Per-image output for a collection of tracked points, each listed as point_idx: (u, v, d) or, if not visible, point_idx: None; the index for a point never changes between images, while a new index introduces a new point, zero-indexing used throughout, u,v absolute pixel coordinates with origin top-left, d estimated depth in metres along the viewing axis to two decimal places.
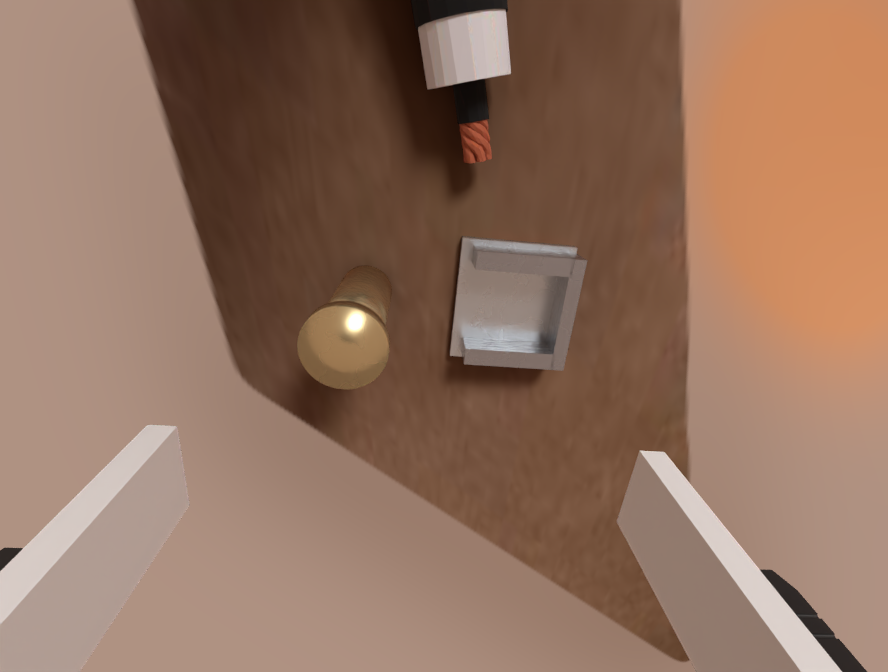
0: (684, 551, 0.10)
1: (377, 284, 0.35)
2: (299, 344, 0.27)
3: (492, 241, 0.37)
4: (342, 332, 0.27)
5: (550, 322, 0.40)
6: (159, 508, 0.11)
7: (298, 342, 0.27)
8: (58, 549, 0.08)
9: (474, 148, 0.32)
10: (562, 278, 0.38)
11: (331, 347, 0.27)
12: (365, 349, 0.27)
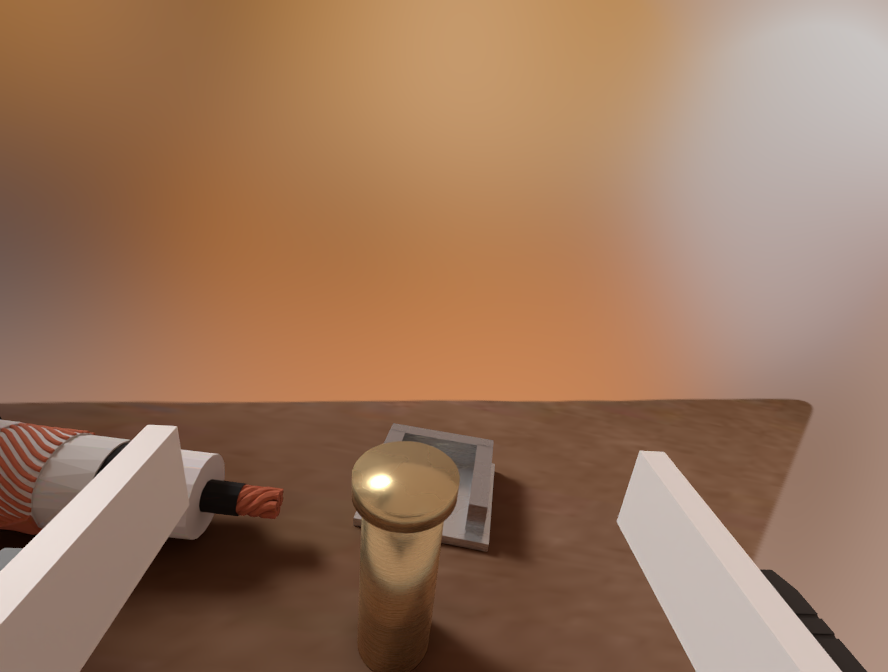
0: (684, 551, 0.10)
1: None
2: (390, 509, 0.21)
3: None
4: (385, 470, 0.23)
5: None
6: (159, 508, 0.11)
7: (387, 510, 0.21)
8: (58, 549, 0.08)
9: (263, 497, 0.32)
10: None
11: (401, 482, 0.22)
12: (410, 457, 0.24)
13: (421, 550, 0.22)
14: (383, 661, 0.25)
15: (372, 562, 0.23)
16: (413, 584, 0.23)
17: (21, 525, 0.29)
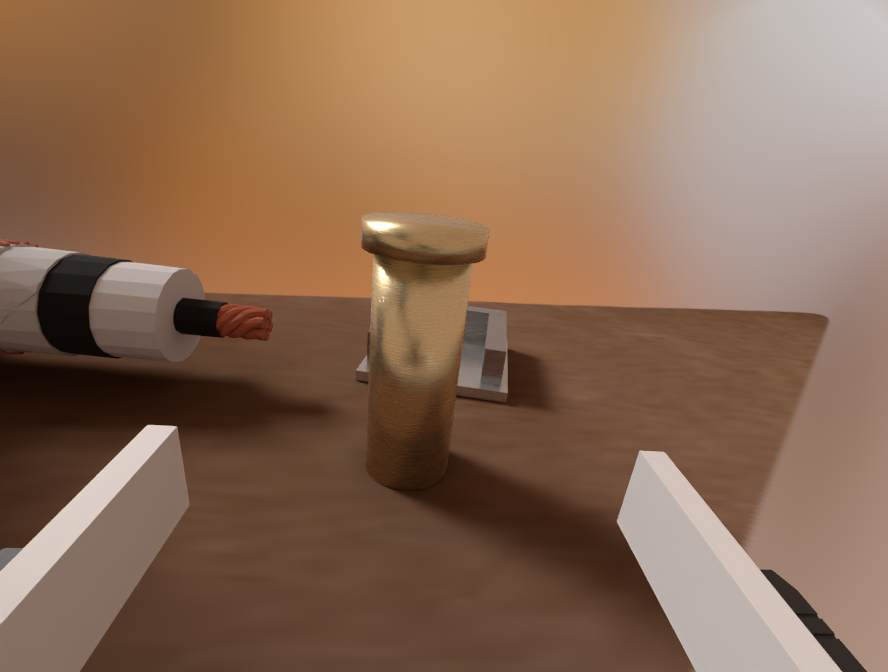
0: (684, 551, 0.10)
1: None
2: (410, 230, 0.17)
3: (367, 356, 0.34)
4: (400, 219, 0.19)
5: None
6: (159, 508, 0.11)
7: (407, 230, 0.17)
8: (58, 549, 0.08)
9: (248, 313, 0.28)
10: None
11: (421, 224, 0.19)
12: (428, 218, 0.21)
13: (445, 306, 0.19)
14: (397, 469, 0.22)
15: (386, 328, 0.19)
16: (435, 356, 0.20)
17: None
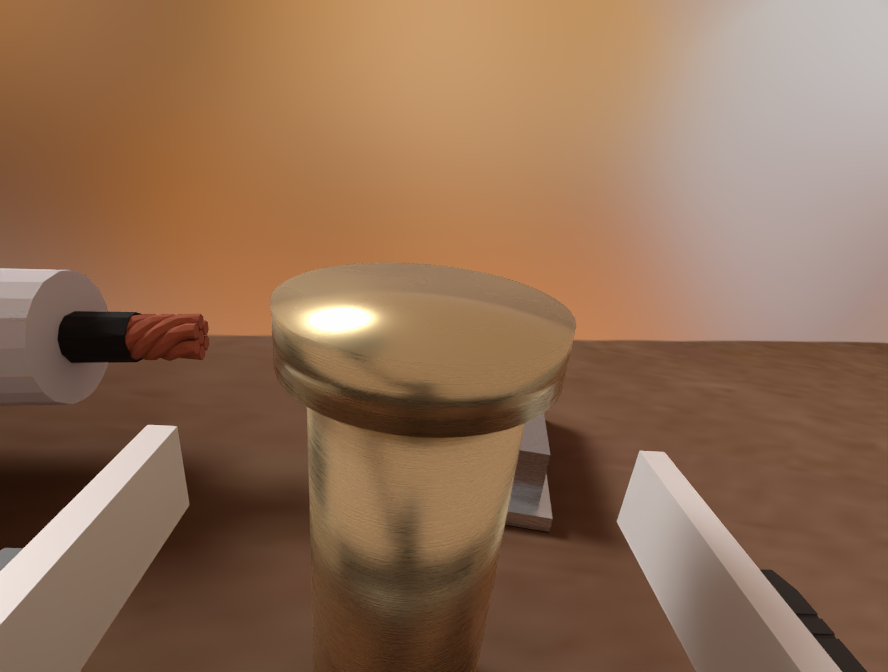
0: (683, 551, 0.10)
1: None
2: (383, 352, 0.06)
3: None
4: (367, 291, 0.08)
5: None
6: (159, 508, 0.11)
7: (373, 353, 0.06)
8: (58, 549, 0.08)
9: (174, 320, 0.20)
10: None
11: (414, 309, 0.08)
12: (431, 280, 0.10)
13: (473, 504, 0.08)
14: None
15: (335, 543, 0.08)
16: (447, 599, 0.09)
17: None
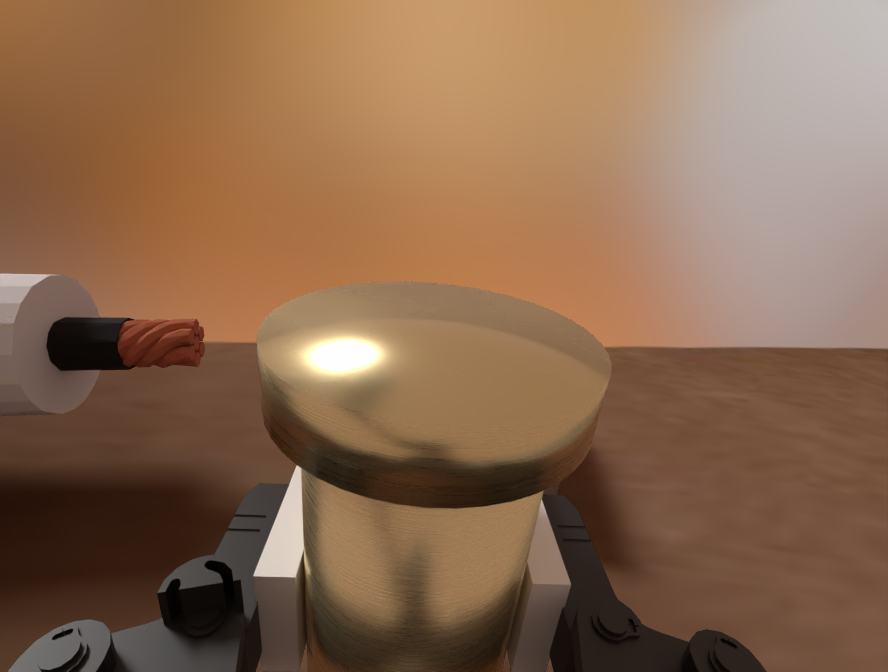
0: None
1: None
2: (390, 409, 0.05)
3: None
4: (370, 320, 0.07)
5: None
6: None
7: (378, 411, 0.05)
8: None
9: (168, 325, 0.19)
10: None
11: (424, 344, 0.07)
12: (441, 303, 0.09)
13: (492, 569, 0.07)
14: None
15: (333, 609, 0.07)
16: (460, 670, 0.08)
17: None
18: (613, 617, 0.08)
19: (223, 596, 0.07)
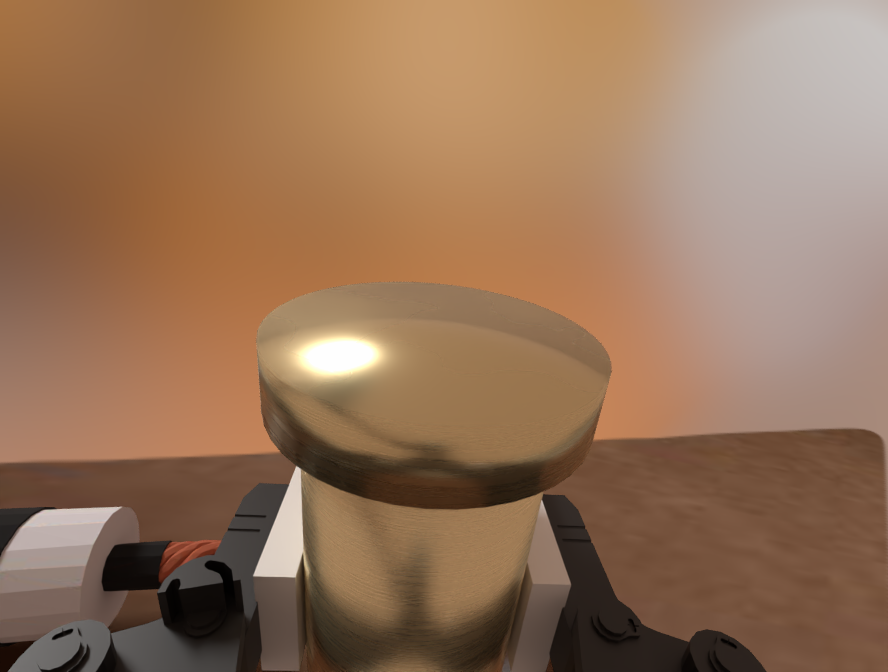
0: None
1: None
2: (390, 410, 0.05)
3: None
4: (370, 321, 0.07)
5: None
6: None
7: (377, 412, 0.05)
8: None
9: (199, 553, 0.23)
10: None
11: (424, 345, 0.07)
12: (441, 304, 0.09)
13: (491, 569, 0.07)
14: None
15: (332, 609, 0.07)
16: (460, 671, 0.08)
17: None
18: (613, 617, 0.08)
19: (223, 596, 0.07)
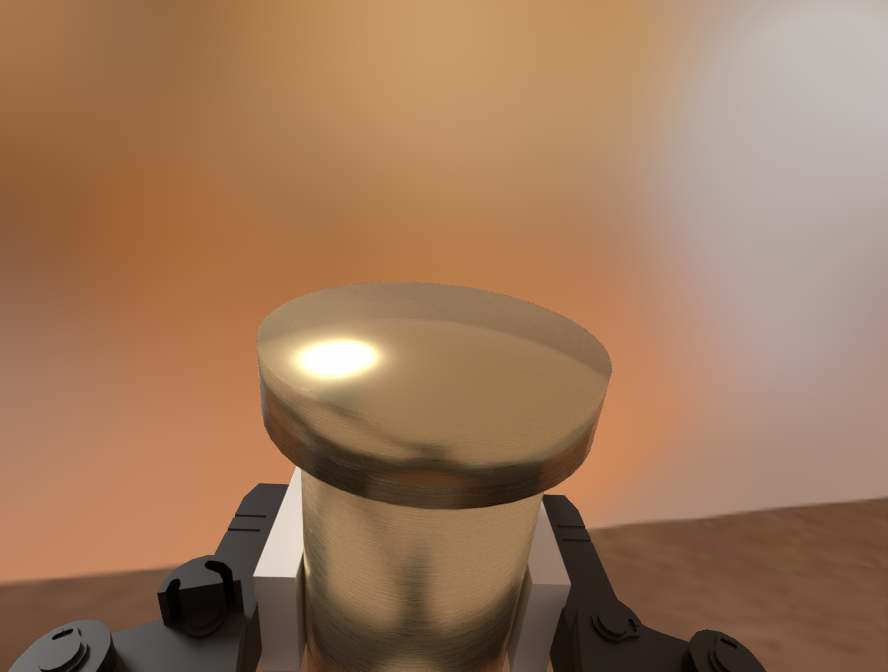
0: None
1: None
2: (390, 410, 0.05)
3: None
4: (370, 321, 0.07)
5: None
6: None
7: (378, 412, 0.05)
8: None
9: None
10: None
11: (424, 345, 0.07)
12: (442, 304, 0.09)
13: (492, 569, 0.07)
14: None
15: (333, 610, 0.07)
16: None
17: None
18: (613, 617, 0.08)
19: (223, 596, 0.07)
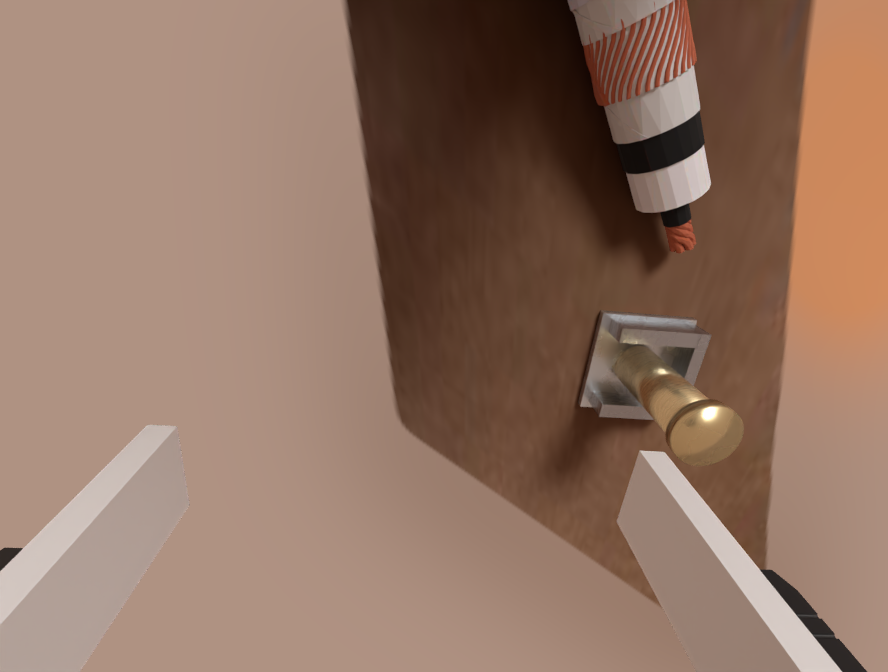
0: (683, 551, 0.10)
1: (672, 368, 0.42)
2: (676, 434, 0.35)
3: (627, 315, 0.45)
4: (712, 425, 0.35)
5: None
6: (159, 508, 0.11)
7: (676, 432, 0.35)
8: (58, 549, 0.08)
9: (684, 241, 0.40)
10: (685, 346, 0.45)
11: (699, 436, 0.35)
12: (724, 437, 0.35)
13: (662, 428, 0.38)
14: (620, 368, 0.46)
15: (660, 395, 0.39)
16: (648, 411, 0.40)
17: (599, 97, 0.34)
18: None
19: None
